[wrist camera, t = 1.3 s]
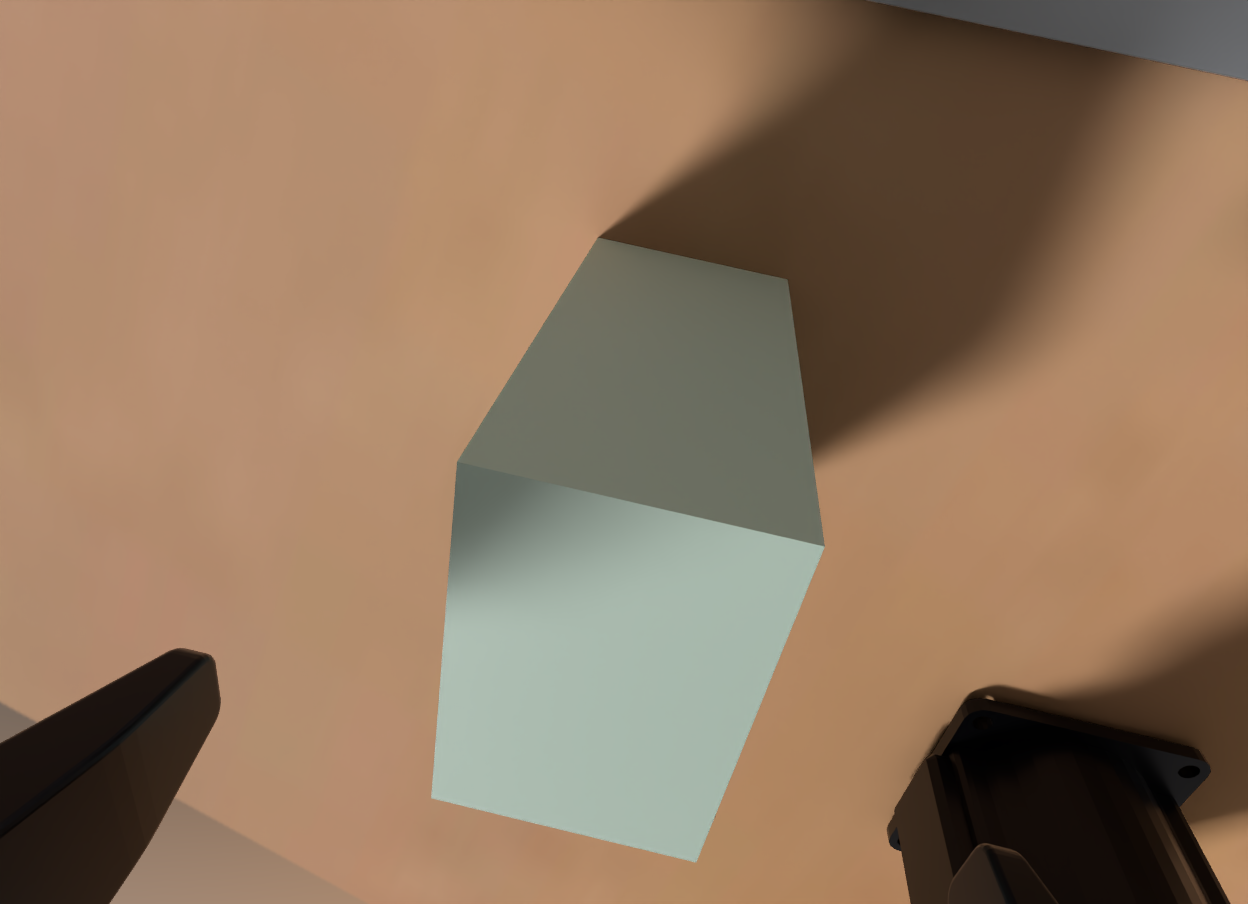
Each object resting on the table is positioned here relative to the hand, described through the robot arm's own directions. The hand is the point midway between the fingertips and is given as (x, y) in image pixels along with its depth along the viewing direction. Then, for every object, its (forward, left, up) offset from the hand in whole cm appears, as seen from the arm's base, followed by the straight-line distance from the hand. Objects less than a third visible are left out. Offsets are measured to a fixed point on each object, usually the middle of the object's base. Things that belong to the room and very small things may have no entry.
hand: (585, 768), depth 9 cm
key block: (0, 0, -10) cm, 10 cm away
